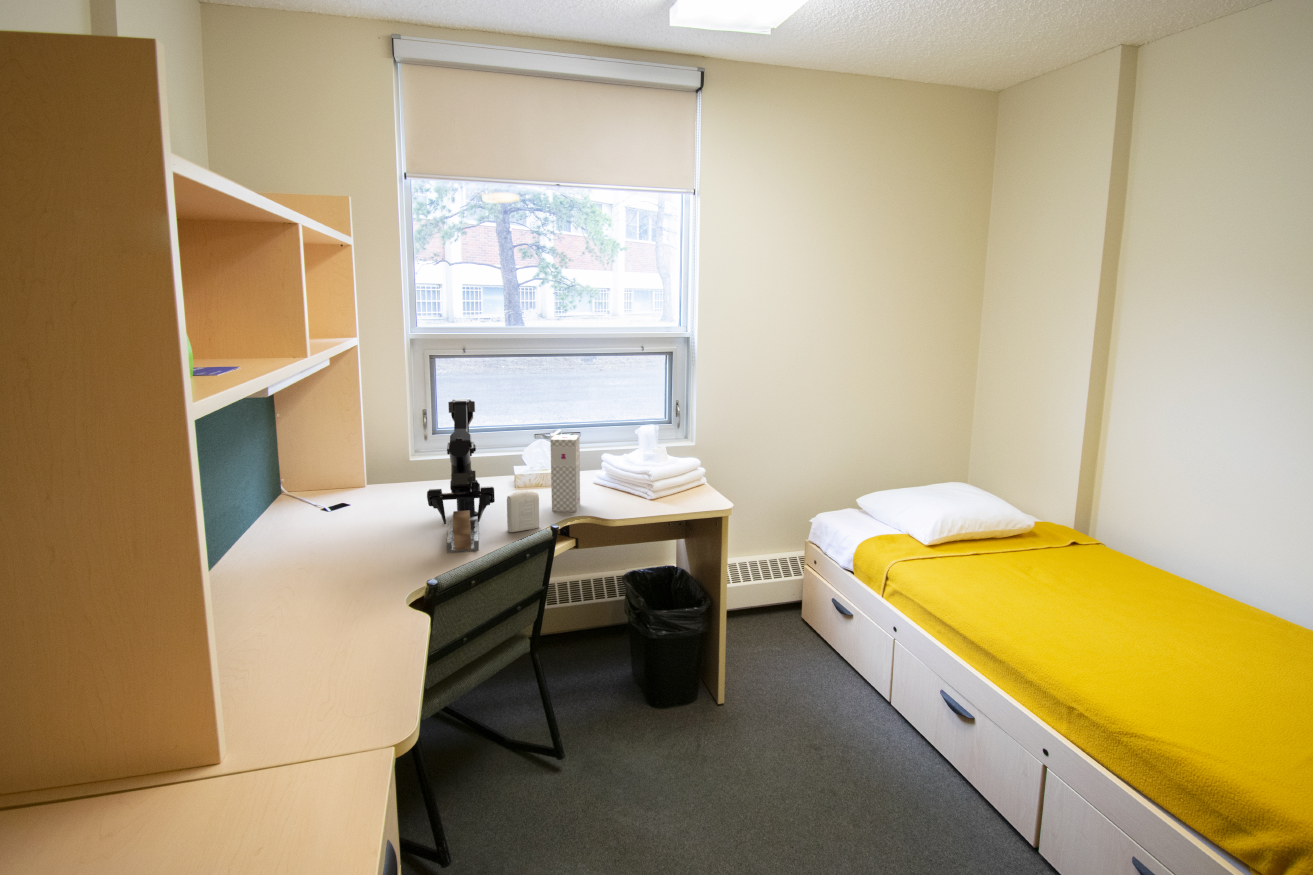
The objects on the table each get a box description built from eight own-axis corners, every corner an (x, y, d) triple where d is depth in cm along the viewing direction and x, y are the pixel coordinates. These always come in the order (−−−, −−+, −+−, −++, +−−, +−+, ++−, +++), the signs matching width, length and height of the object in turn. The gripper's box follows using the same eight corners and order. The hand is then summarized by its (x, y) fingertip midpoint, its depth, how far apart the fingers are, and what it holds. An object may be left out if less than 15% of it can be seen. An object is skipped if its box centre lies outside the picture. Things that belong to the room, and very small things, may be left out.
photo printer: (536, 524, 219) (535, 487, 217) (541, 528, 216) (540, 490, 213) (505, 530, 214) (504, 492, 211) (510, 534, 210) (509, 495, 208)
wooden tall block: (471, 543, 200) (469, 510, 198) (470, 549, 195) (469, 515, 193) (455, 544, 199) (453, 511, 197) (454, 550, 194) (452, 516, 192)
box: (576, 511, 233) (575, 439, 228) (551, 511, 233) (550, 439, 228) (580, 504, 241) (579, 435, 236) (556, 503, 241) (555, 434, 236)
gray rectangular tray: (450, 530, 213) (450, 520, 212) (479, 528, 215) (478, 519, 215) (447, 552, 194) (446, 542, 193) (478, 550, 196) (478, 540, 196)
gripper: (425, 462, 194) (424, 511, 186) (493, 459, 198) (494, 507, 190) (429, 481, 203) (428, 529, 195) (493, 478, 208) (495, 524, 199)
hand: (461, 522), depth 195 cm, fingers open, 9 cm apart
